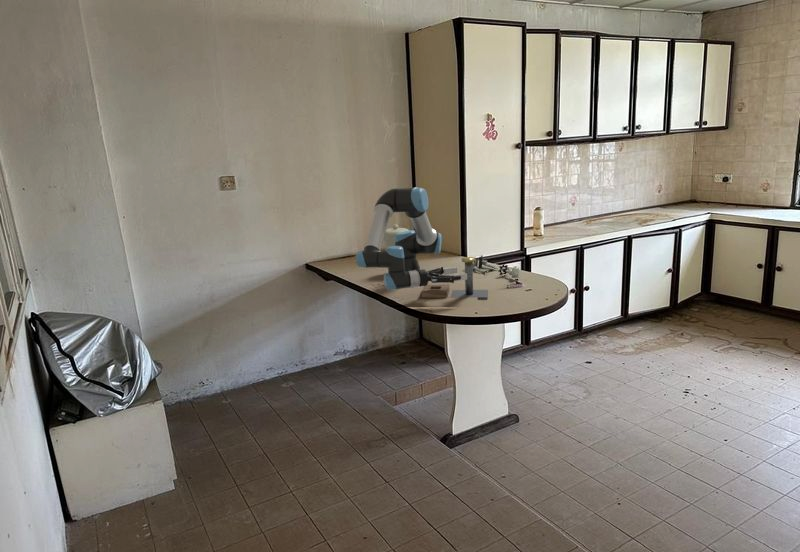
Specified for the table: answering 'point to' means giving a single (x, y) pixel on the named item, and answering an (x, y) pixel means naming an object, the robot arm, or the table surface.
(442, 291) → the eye block
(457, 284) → the table surface
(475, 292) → the mat
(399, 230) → the canister
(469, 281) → the brass topped pillar
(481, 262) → the bike brake
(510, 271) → the valve
